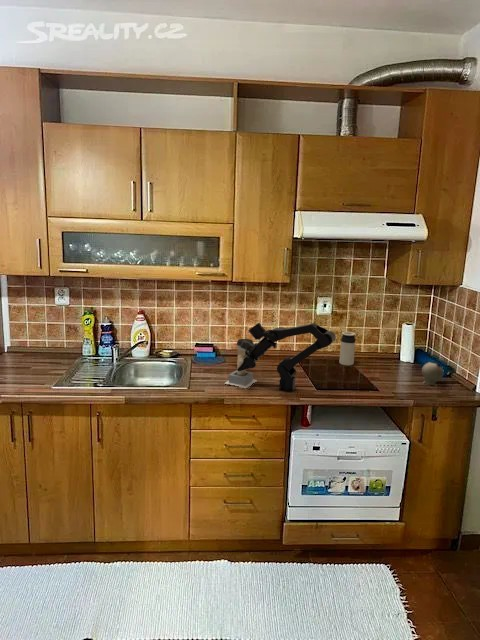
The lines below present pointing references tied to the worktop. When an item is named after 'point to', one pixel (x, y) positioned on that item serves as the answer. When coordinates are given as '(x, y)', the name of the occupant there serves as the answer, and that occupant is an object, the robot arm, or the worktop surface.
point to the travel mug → (347, 348)
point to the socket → (241, 379)
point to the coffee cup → (241, 350)
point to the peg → (240, 361)
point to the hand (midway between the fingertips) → (238, 367)
